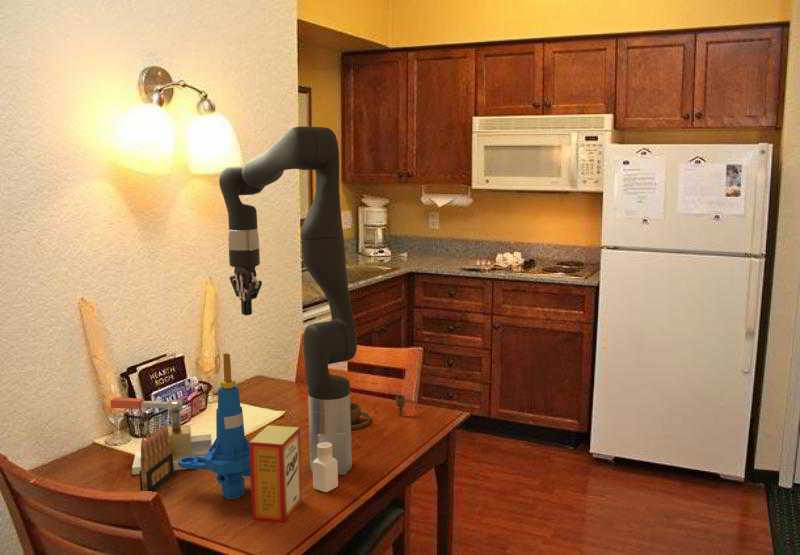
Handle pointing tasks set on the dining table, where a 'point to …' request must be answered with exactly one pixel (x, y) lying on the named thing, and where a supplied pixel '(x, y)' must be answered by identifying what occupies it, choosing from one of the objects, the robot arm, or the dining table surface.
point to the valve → (226, 441)
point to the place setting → (356, 413)
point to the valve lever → (145, 404)
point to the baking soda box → (275, 473)
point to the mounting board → (137, 464)
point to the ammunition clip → (156, 460)
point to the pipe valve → (186, 439)
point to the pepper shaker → (325, 468)
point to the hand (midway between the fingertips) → (246, 314)
